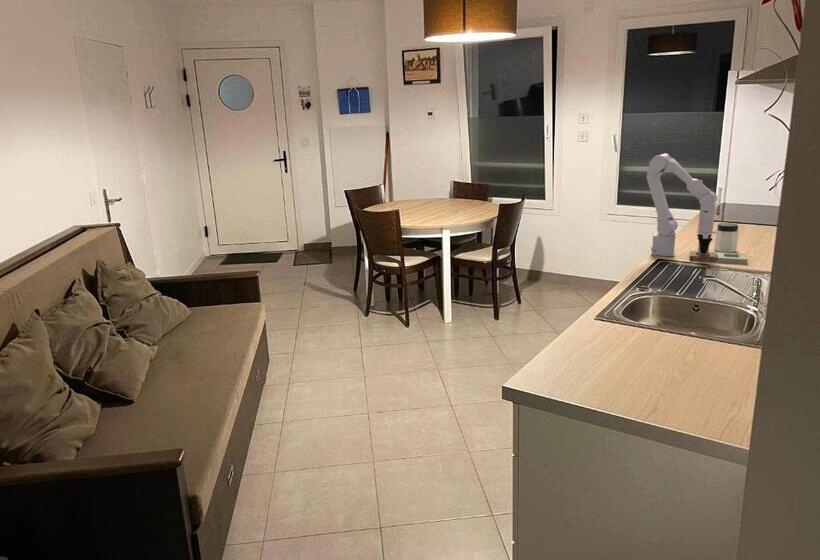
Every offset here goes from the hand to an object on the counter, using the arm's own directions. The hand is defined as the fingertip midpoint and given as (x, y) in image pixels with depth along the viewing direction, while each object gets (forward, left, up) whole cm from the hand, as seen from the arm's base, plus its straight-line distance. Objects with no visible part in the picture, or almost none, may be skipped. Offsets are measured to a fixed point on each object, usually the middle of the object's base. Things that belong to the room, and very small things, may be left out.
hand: (703, 252), depth 263 cm
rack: (+11, 0, -3) cm, 11 cm away
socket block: (0, 0, -3) cm, 3 cm away
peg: (0, 0, -3) cm, 3 cm away
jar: (+10, +19, -3) cm, 22 cm away
